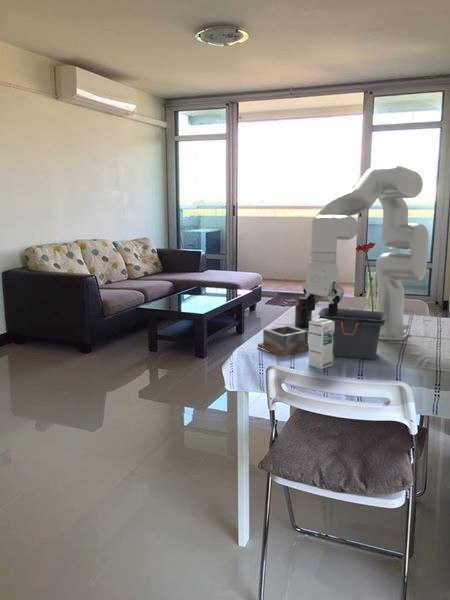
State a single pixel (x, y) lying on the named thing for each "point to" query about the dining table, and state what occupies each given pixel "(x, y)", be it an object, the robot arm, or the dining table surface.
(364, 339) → the storage bin
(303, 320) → the supplement bottle
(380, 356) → the dining table surface
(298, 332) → the post base
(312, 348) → the syrup box
